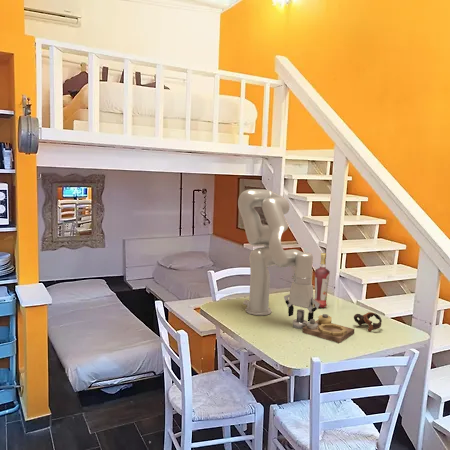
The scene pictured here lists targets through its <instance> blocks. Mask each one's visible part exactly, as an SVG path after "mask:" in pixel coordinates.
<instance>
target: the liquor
mask: <svg viewBox="0 0 450 450" xmlns="http://www.w3.org/2000/svg"><path fill="white" fill-rule="evenodd" d="M326 259H327V253H326V252H321V253H320V263H319V264H320V265H319V267H318V268H317V269H315V270H314V299H315V300H316V301H317V302H318V303H319V304H320V305H319V307H318V309H324V308H326V307H327V306H328V304H327V298H328V291H329V281H330V274H331V273H330V272H331V271H330V270H329V269H328V268H326V267H327V265H326V264H327V263H326ZM313 306H315V304H314V303H313Z"/></svg>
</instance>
